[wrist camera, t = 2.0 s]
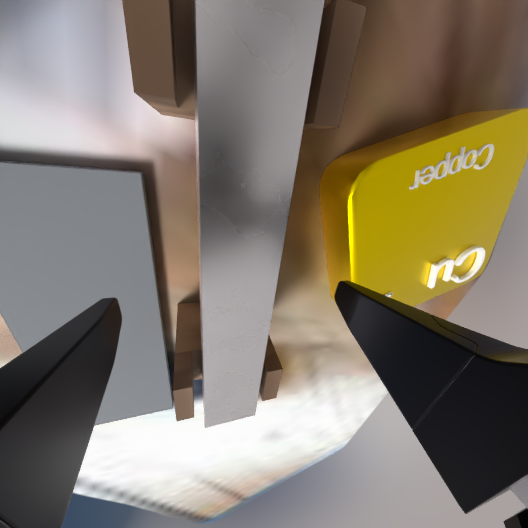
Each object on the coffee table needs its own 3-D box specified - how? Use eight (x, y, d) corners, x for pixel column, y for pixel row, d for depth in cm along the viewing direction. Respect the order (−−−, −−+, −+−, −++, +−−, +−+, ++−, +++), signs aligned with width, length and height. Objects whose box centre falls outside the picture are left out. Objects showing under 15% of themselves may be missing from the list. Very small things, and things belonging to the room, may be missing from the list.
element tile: (481, 105, 18) (564, 97, 14) (444, 257, 26) (490, 279, 22) (312, 163, 16) (353, 172, 12) (330, 306, 24) (357, 339, 20)
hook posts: (278, 70, 13) (367, 7, 6) (250, 322, 22) (276, 397, 15) (155, 40, 11) (110, -92, 4) (180, 330, 20) (176, 421, 13)
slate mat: (143, 171, 13) (140, 173, 12) (173, 400, 24) (172, 408, 23) (-72, 154, 10) (-90, 155, 10) (71, 422, 21) (67, 431, 20)
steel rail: (287, 6, 8) (333, -53, 5) (245, 374, 17) (255, 415, 15) (191, -26, 7) (192, -118, 4) (202, 382, 16) (204, 427, 14)
